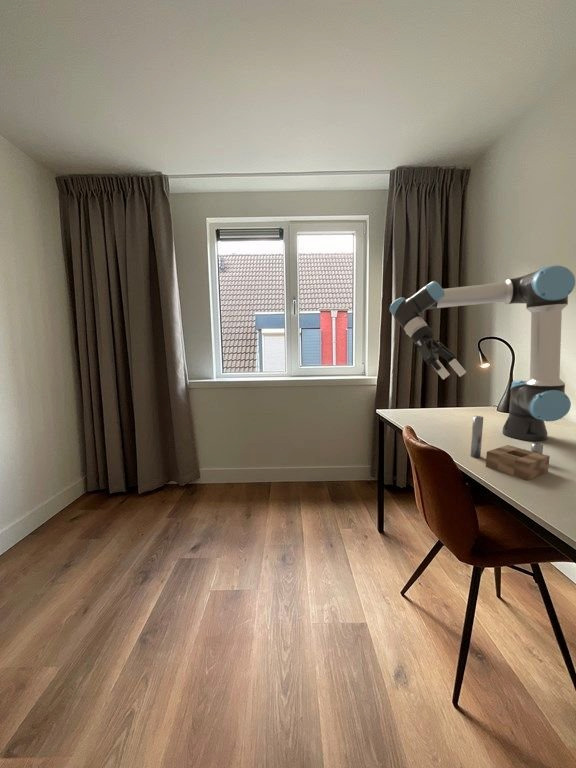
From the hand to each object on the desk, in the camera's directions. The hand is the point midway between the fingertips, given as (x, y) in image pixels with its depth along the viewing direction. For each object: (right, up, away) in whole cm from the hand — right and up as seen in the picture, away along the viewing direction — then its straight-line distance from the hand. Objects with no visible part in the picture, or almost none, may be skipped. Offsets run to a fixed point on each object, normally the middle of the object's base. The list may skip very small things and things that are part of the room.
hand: (455, 375), depth 118 cm
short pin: (+22, -28, -8) cm, 37 cm away
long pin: (+6, -28, -3) cm, 29 cm away
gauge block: (+12, -29, -14) cm, 35 cm away
